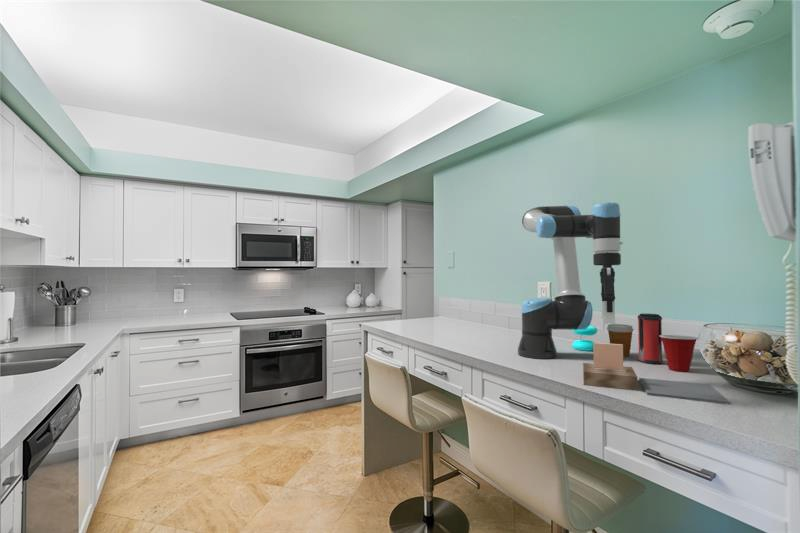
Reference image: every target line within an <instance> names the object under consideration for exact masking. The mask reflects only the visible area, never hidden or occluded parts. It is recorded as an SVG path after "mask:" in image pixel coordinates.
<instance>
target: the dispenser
mask: <svg viewBox="0 0 800 533" xmlns="http://www.w3.org/2000/svg"><path fill="white" fill-rule="evenodd" d="M582 369H583V370H582V371H583V373H582V374H583V379H582V380H583V386H584V385H585V386H591V387H601V388H609V389H616V390H617V389H619V390H626V391H635V390H636V391H638V376H637V374H636V372H635V370H634V368H633V367H632V366H625V365H623V370H612V369H601V368H594V363H589V362H582Z"/></svg>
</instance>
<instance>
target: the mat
mask: <svg viewBox="0 0 800 533" xmlns="http://www.w3.org/2000/svg"><path fill="white" fill-rule="evenodd" d="M638 380H639V382H640V384H641V385H642V388H643V389H644V391H645V394H646V395H647V396H655V397H662V398H673V399H679V400H681V399H682V400H689V401H690V400H691V401H699V402H707V403H715V402H717V403H718V404H724V403H728V404H727V405H730V401H729V400H728V399H727V398H726V397H725V396H723V395H722V394H721V393H720V392H719V391H718V390H717V389H716V388H714V387H713V385H711V384H709V383H708V384H706V383H697V382H696V383H695V382H687V381H676V380H665V379H658V378H657V379H656V378H646V377H638Z"/></svg>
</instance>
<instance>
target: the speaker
mask: <svg viewBox="0 0 800 533" xmlns="http://www.w3.org/2000/svg"><path fill="white" fill-rule="evenodd" d="M662 321H663V317H662V316H661V315H660V314H657V313H639V315H637V326H638V330H637V331H638V332H637V333H638V336H637V338H638V357H637V360H638V361H639V362H641V363H644V364H649V363H650V365H661V364H663V343H662V340H661V337H660V336H659V335H663V332H662V328H663V327H662Z"/></svg>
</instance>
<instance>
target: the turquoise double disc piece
mask: <svg viewBox="0 0 800 533" xmlns="http://www.w3.org/2000/svg"><path fill="white" fill-rule="evenodd" d="M572 332H573V333H574V335H575V334H576V335H579V336H586V337H587V336H594V335H596V334H597V332H598V328H597V327H595V326H593V325H589V327H588V328H586V329H583V330H572ZM594 343H596V342H594V341H593V340H587V339H577V340H575V341H573V342H572V348H573V349H575V350H578V351H582V350H583V352H594Z"/></svg>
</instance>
